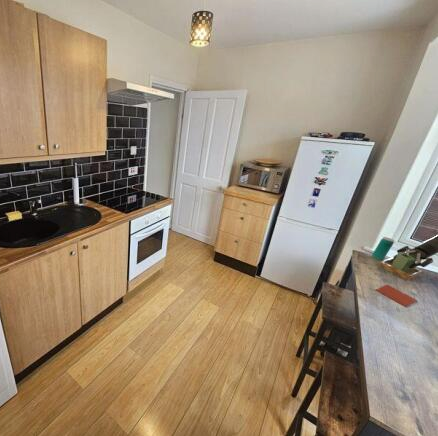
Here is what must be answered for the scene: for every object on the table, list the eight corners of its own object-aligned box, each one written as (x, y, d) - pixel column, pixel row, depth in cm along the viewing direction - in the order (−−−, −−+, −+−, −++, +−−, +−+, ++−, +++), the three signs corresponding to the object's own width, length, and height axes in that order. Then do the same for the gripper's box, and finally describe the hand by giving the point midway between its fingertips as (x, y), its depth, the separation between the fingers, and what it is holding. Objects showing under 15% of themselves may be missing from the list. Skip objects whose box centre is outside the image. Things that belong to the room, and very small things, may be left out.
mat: (416, 300, 115) (417, 300, 115) (405, 306, 110) (406, 306, 110) (387, 285, 125) (387, 284, 125) (375, 290, 120) (375, 289, 120)
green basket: (397, 267, 141) (406, 253, 137) (407, 273, 136) (417, 259, 132) (389, 267, 141) (398, 253, 136) (399, 273, 136) (408, 259, 131)
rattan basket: (418, 275, 136) (422, 271, 134) (407, 280, 130) (411, 275, 129) (389, 262, 147) (392, 257, 146) (377, 266, 142) (380, 261, 140)
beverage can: (384, 262, 146) (397, 242, 140) (373, 260, 148) (385, 240, 142) (379, 257, 151) (391, 238, 145) (369, 255, 153) (380, 236, 146)
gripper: (415, 237, 137) (387, 252, 141) (444, 250, 124) (413, 266, 128) (418, 245, 140) (391, 259, 144) (446, 258, 127) (416, 274, 131)
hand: (401, 263), depth 136 cm, fingers open, 8 cm apart
